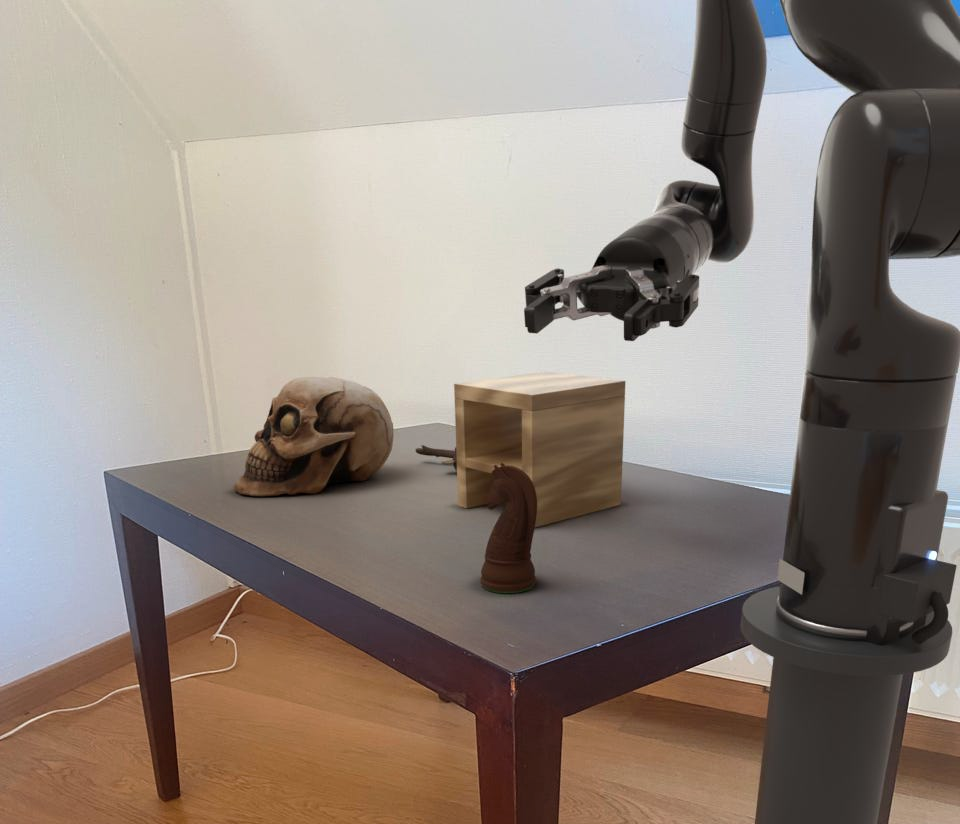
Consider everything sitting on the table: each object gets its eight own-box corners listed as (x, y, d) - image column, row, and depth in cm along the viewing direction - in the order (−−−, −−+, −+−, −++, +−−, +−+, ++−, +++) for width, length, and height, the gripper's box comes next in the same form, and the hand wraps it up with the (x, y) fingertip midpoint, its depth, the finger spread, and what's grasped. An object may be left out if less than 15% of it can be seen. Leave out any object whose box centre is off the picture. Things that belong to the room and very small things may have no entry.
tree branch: (573, 435, 119) (519, 445, 107) (571, 469, 120) (517, 481, 108) (456, 425, 128) (395, 433, 116) (456, 456, 129) (395, 467, 117)
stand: (621, 504, 99) (625, 380, 93) (532, 528, 91) (532, 395, 86) (545, 485, 107) (545, 371, 102) (458, 506, 100) (453, 383, 95)
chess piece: (502, 571, 79) (500, 456, 75) (551, 582, 76) (552, 463, 72) (469, 586, 76) (466, 467, 72) (519, 598, 73) (518, 475, 69)
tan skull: (222, 492, 107) (217, 374, 103) (302, 476, 122) (301, 372, 118) (339, 507, 102) (339, 383, 97) (407, 488, 117) (410, 380, 113)
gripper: (575, 222, 85) (496, 273, 75) (726, 225, 79) (664, 281, 68) (578, 303, 90) (503, 363, 79) (721, 312, 84) (662, 378, 73)
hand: (578, 325), depth 74 cm, fingers open, 8 cm apart
